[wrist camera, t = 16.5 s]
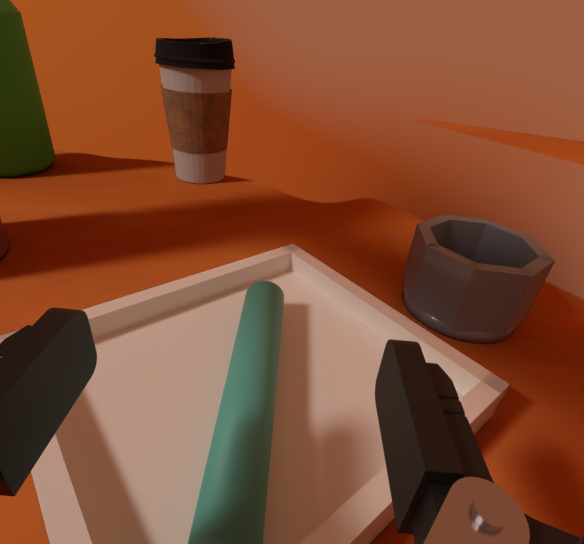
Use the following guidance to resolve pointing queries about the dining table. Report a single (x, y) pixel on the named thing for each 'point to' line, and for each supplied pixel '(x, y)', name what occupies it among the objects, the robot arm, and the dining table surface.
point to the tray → (207, 397)
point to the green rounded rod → (243, 428)
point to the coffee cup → (197, 104)
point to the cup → (472, 277)
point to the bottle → (20, 102)
